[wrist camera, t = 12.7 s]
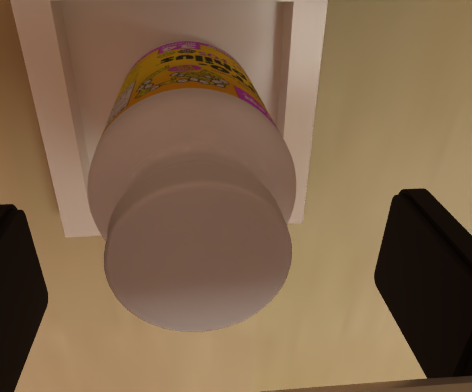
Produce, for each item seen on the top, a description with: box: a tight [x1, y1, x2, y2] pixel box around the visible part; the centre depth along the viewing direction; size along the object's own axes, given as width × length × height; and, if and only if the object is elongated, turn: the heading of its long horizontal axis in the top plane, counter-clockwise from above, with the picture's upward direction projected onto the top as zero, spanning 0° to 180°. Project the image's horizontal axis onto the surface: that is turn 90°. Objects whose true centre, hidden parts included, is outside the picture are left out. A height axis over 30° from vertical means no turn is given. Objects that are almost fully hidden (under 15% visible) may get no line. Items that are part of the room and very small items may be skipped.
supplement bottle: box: [87, 40, 296, 332], centre depth 16 cm, size 7×7×13 cm
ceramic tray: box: [10, 0, 328, 238], centre depth 21 cm, size 13×13×2 cm
